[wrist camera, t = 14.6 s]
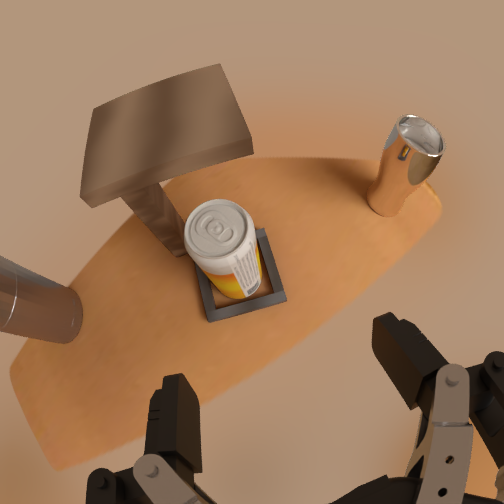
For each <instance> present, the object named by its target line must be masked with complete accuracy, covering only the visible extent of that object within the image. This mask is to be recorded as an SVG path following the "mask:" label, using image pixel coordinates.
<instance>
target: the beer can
mask: <svg viewBox="0 0 504 504" xmlns="http://www.w3.org/2000/svg"><path fill="white" fill-rule="evenodd" d="M184 244H185V248H186V250H187V252H188V254H189V255H190V256H191V258H192V259H193V260H194V261H195V262H196V264H197V265H198V266H199V267H200V268H201V270H202V271H203V272H204V273H205V274H206V275H207V277H208V278H209V279H210V280H211V281H212V282H213V284H214V285H215V286H216V287H217V288H218V289H219V291H220V292H221V293H222V294H224V295H225V296H227V297H229V298H233V299H242V298H246V297H248V296H250V295H252V294H253V293H254V292H255V291H256V290H257V289H258V287H259V285H260V283H261V280H262V270H261V264H260V258H259V252H258V246H257V240H256V234H255V228H254V224H253V221H252V218H251V217H250V215H249V214H248V213H247V211H246V210H244V209H243V208H242V207H240V206H239V205H238V204H236V203H234V202H232V201H229V200H225V199H214V200H210V201H207V202H204V203H202V204H201V205H199V206H198V207H196V208H195V209H194V210H193V211H192V212H191V214H190V215H189V217H188V219H187V221H186V224H185V230H184Z"/></svg>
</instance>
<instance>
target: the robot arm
mask: <svg viewBox="0 0 504 504" xmlns="http://www.w3.org/2000/svg"><path fill="white" fill-rule="evenodd" d="M82 316H83V314H82V305H81V302H80V299H79V297H78V295H77V294H76V293H75V292H74V291H73V290H71V289H70V288H67V287H65V286H63V285H60V284H58V283H56V282H54V281H51V280H49V279H47V278H45V277H43V276H41V275H38V274H36V273H34V272H32V271H30V270H28V269H26V268H24V267H22V266H20V265H18V264H16V263H14V262H12V261H10V260H8V259H6V258H4V257H2V256H0V331H1V332H5V333H10V334H14V335H19V336H23V337H28V338H33V339H39V340H44V341H49V342H55V343H62V344H65V343H68V342H70V341H72V340H73V339H74V338H75V337H76V335H77V334H78V332H79V330H80V327H81V323H82ZM372 331H373V332H372V349H373V352H374V354H375V356H376V358H377V359H378V361H379V362H380V364H381V365H382V367H383V368H384V370H385V371H386V373H387V374H388V376H389V377H390V379H391V381H392V382H393V384H394V385H395V387H396V388H397V390H398V391H399V393H400V394H401V396H402V398H403V399H404V401H405V402H406V404H407V406H408V407H409V409H410V410H413V409H414V408H416V407H418V406H419V407H420V409H421V415H420V421H419V426H418V431H417V436H416V441H415V445H414V449H413V453H412V456H411V458H410V461H409V463H408V466H407V469H406V473H405V476H404V477H395V478H389V479H388V477H387V475H384V476H382V477H380V478H377V479H375V480H373V481H370V482H368V483H366V484H363V485H361V486H358V487H357V488H355V489H354V490H352V491H351V492H349V493H348V494H346V495H344V496H343V497H341V498H339V499H338V500H336V501H334V502H332V503H329V504H504V353H503V352H499V351H495V352H491V353H489V354H488V355H487V356H486V358H485V360H484V362H483V363H482V364H479V365H475V366H472V367H468V368H464V367H462V366H460V365H457V364H449V363H448V362H447V361H446V359H444V357H443V356H442V355H441V354H440V352H439V351H438V350H437V349H436V348H435V347H434V346H433V345H432V343H431V342H430V341H429V340H427V338H426V337H425V336H424V335H423V333H421V331H420V330H419V329H418V328H417V327H416V326H415V324H413V323H411V322H409V321H407V320H405V319H402V320H400V321H399V320H398V319H397V318H396V317H395V315H394V314H393V313H391V312H388V313H386V314H383V315H381V316H378V317H376V318H374V319H373V330H372ZM468 418H470V419H471V421H472V422H473V424H474V426H475V427H476V429H477V431H478V432H479V434H480V436H481V437H482V439H483V441H484V443H485V445H486V446H487V448H488V450H489V452H490V454H491V456H492V457H493V459H494V461H495V463H496V465H497V467H498V469H499V471H498V473H497V476H496V481H495V487H496V488H497V489H498V491H497V497H496V499H491V498H486V497H481V496H476V495H472V494H468V493H464V491H465V487H466V482H467V477H468V471H469V465H470V458H471V451H472V442H473V426H472V424H469V421H468ZM194 473H202V456H201V435H200V406H199V401H198V398H197V395H196V393H195V392H194V390H193V389H192V387H191V386H190V384H189V382H188V381H187V379H186V378H185V376H184V375H183V374H182V373H179V374H174V375H168V376H164V378H163V384H162V389H159V390H156V391H155V392H154V394H153V396H152V398H151V399H150V405H149V413H148V421H147V430H146V441H145V451H144V455H143V456H142V457H140V458H139V459H138V460H137V461H136V463H135V464H134V467H131V468H129V469H125V470H122V471H119V472H115V473H113V472H111V471H109V470H108V469H105V468H99V469H96V470H94V471H93V472H92V473H91V474H90V475H89V477H88V482H87V491H86V504H217V503H216V502H215V501H214V500H213V499H212V498H211V497H209V496H208V495H207V494H206V493H205V492H204V491H203V490H202V489H201V488H200V487H199V486H198V485H197V484H196V483H195V482H194Z"/></svg>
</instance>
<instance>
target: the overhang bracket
mask: <svg viewBox="0 0 504 504" xmlns="http://www.w3.org/2000/svg"><path fill="white" fill-rule="evenodd" d="M252 154H254V152H253V145H252V137H251V134H250V132H249V130H248V127H247V125H246V122H245V120H244V117H243V115H242V113H241V110H240V108H239V106H238V103H237V101H236V99H235V96H234V94H233V92H232V89H231V87H230V85H229V82H228V80H227V78H226V76H225V73H224V71H223V69H222V67H221V64H216V65H212V66H208V67H204V68H201V69H197V70H193V71H190V72H186V73H183V74H180V75H177V76H173V77H170V78H167V79H165V80H162V81H159V82H156V83H153V84H151V85H148V86H145V87H142V88H140V89H137V90H135V91H132V92H130V93H127V94H125V95H123V96H120V97H118V98H116V99H114V100H111V101H109V102H107V103H105V104H103V105H101V106H99V107H96V108H94V110H93V113H92V118H91V123H90V128H89V133H88V139H87V144H86V150H85V156H84V164H83V172H82V180H81V190H80V198H82V199H83V200H84V201H85V202H86V203H87V204H88V205H89V206H90V207H91V208H94V207H96V206H98V205H101V204H103V203H106V202H108V201H111V200H113V199H116V198H118V197H121V198H122V199H123V200H124V201H125V202H126V204H127V205H128V206H129V207H130V208H131V209H132V210H133V211H134V213H135V214H136V215H137V216H138V217H139V218H140V219H141V220H142V221H143V223H144V224H145V225H146V226H147V227H148V228H149V229H150V230H151V231H152V232H153V233H154V234H155V236H156V237H157V238H158V239H159V240H160V241H161V242H162V243H163V244H164V245H165V246H166V247H167V248H168V249H169V250H170V251H171V252H172V253H173V255H174V256H175V257H179V256H182V255H185V254H188V252H187V250H186V248H185V244H184V230H185V223H184V222H183V220H182V219H181V217H180V216H179V214H178V213H177V211H176V209H175V208H174V206H173V205H172V203H171V202H170V200H169V199H168V197H167V195H166V194H165V192H164V191H163V189H162V188H161V186H160V184H159V182H162V181H165V180H168V179H171V178H174V177H177V176H180V175H183V174H186V173H189V172H192V171H195V170H199V169H202V168H205V167H208V166H212V165H215V164H219V163H222V162H226V161H229V160H233V159H237V158H240V157H244V156H248V155H252ZM255 234H256V240H257V242H258V243H259V246H260V249H261V252H262V255H263V259H264V262H265V265H266V268H267V272H268V275H269V278H270V281H271V285H272V288H273V291H274V293H273V294H270V295H267V296H263V297H260V298H256V299H253V300H249V301H246V302H242V303H239V304H235V305H231V306H228V307H224V308H220V309H217V310H216V306H215V301H214V297H213V293H212V289H211V285H210V281H209V278H208V277H207V275H206V274H205V273H204V272H203V271H202V270H201V268H200V267H199V266H198V265H197V264H196V262H195V261H194V262H195V267H196V271H197V276H198V280H199V285H200V289H201V294H202V298H203V303H204V307H205V311H206V315H207V319H208V322H210V323H211V322H215V321H219V320H222V319H226V318H230V317H234V316H237V315H241V314H244V313H248V312H252V311H255V310H259V309H262V308H266V307H269V306H272V305H276V304H279V303H283V302H286V301H287V298H286V295H285V292H284V289H283V285H282V282H281V279H280V276H279V273H278V270H277V267H276V263H275V260H274V257H273V254H272V251H271V248H270V245H269V242H268V239H267V236H266V233H265V229H264V228H262V229H258V230H255Z"/></svg>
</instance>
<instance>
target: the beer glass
mask: <svg viewBox="0 0 504 504" xmlns="http://www.w3.org/2000/svg"><path fill="white" fill-rule="evenodd" d="M445 149H446V144H445V140H444V138H443V136H442V134H441V133H440V132H439V130H438V129H437V128H436V127H435V126H434V125H433V124H431V123H430V122H429V121H427V120H425V119H424V118H421V117H419V116H416V115H410V114H407V115H402V116H400V117H399V118H398V119H397V122H396V124H395V126H394V127H393V130H392V131H391V133H390V135H389V137H388V139H387V141H386V143H385V146H384V149H383V152H382V156H381V160H380V165H379V171H378V175H377V178H376V180H375V181H374V182H373V183H372V184H371V186H370V187H369V188H368V190H367V201H368V203H369V205H370V207H371V208H372V209H373V210H374V211H375V212H376V213H378V214H380V215H382V216H385V217H393V216H395V215H397V214H398V213H399V212H400V211H401V209H402V207H403V204H404V202H405V200H406V198H407V197H408V196H409V195H411V194H412V193H413V192H414V191H416V190H417V189H418V188H419V187H420V186H421V185H422V184H423V183H424V182H426V181H427V179H428V178H429V177H430V175H431V174H432V173H433V171H434V170H435V168H436V166H437V165H438V163H439V161H440V159H441V157H442V155H443V153H444V152H445Z"/></svg>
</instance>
